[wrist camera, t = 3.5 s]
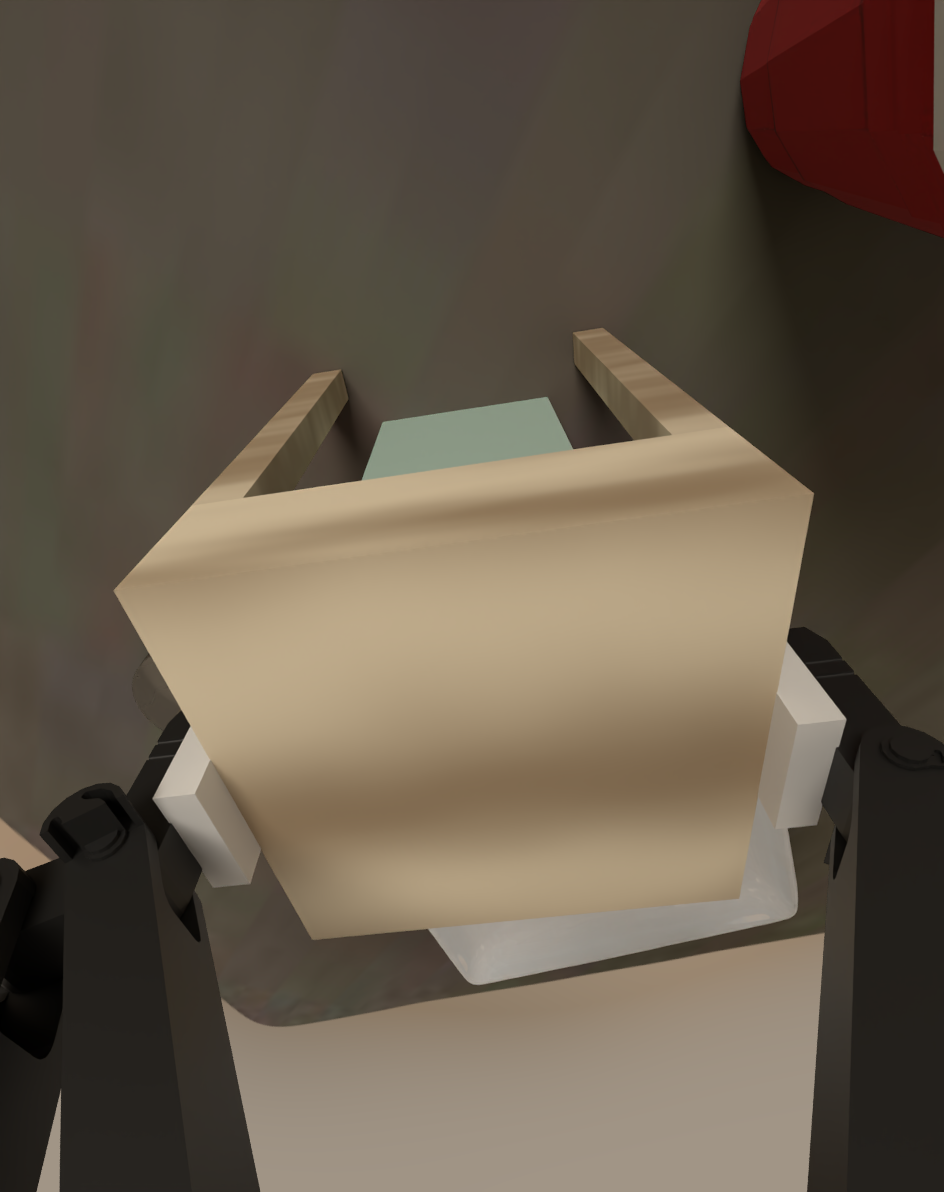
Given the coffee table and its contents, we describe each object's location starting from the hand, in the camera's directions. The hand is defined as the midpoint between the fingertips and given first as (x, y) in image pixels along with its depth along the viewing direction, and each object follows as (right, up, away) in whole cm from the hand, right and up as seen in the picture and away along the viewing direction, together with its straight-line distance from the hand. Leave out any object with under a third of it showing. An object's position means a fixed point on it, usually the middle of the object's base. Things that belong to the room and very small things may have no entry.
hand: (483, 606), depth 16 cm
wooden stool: (0, +4, +7) cm, 8 cm away
